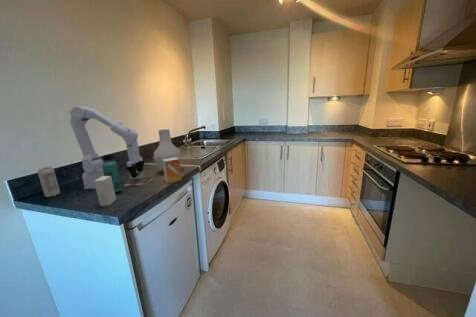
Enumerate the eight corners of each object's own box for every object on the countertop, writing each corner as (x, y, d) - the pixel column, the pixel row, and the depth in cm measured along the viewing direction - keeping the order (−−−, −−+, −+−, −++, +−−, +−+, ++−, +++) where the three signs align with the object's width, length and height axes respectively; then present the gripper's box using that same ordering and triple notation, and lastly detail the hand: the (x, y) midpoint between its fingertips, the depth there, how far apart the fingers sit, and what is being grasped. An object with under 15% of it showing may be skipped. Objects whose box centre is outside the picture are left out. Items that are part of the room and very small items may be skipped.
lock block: (130, 182, 114) (129, 173, 113) (134, 180, 118) (132, 171, 116) (143, 181, 114) (141, 172, 113) (146, 179, 118) (144, 170, 117)
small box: (167, 183, 112) (164, 161, 109) (164, 180, 117) (161, 159, 114) (182, 180, 116) (179, 158, 113) (178, 177, 121) (176, 156, 118)
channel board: (124, 186, 112) (123, 181, 111) (132, 180, 120) (131, 176, 120) (146, 184, 112) (145, 180, 111) (152, 179, 121) (151, 175, 120)
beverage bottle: (109, 192, 104) (100, 154, 99) (123, 189, 107) (116, 152, 102) (106, 196, 98) (97, 157, 94) (121, 193, 101) (114, 155, 96)
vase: (187, 168, 140) (182, 128, 133) (172, 176, 125) (166, 131, 118) (166, 167, 145) (161, 128, 138) (150, 174, 130) (143, 131, 123)
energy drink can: (57, 192, 107) (50, 165, 103) (63, 194, 104) (55, 166, 101) (43, 197, 102) (34, 168, 98) (48, 199, 99) (39, 170, 96)
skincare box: (107, 200, 94) (101, 176, 91) (116, 199, 94) (111, 175, 91) (99, 206, 88) (93, 180, 85) (109, 205, 88) (103, 180, 85)
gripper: (134, 154, 105) (138, 179, 108) (146, 149, 119) (149, 171, 122) (120, 155, 105) (125, 179, 108) (134, 150, 119) (138, 171, 122)
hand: (137, 175), depth 115 cm, fingers open, 7 cm apart
